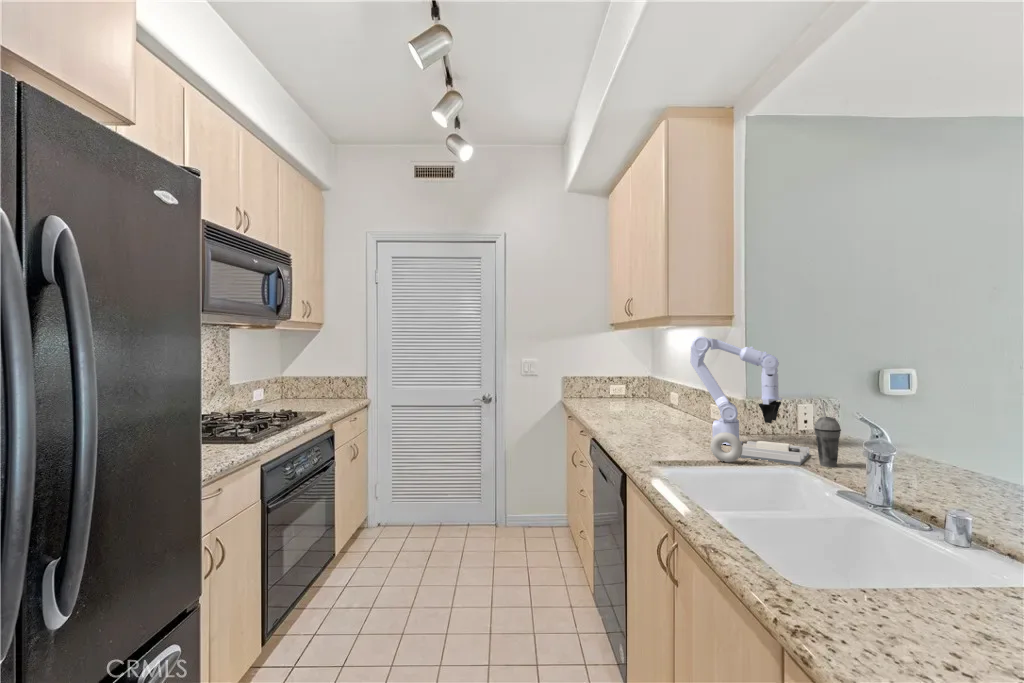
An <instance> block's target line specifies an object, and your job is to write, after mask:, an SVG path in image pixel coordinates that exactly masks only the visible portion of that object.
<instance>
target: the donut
mask: <svg viewBox="0 0 1024 683" xmlns="http://www.w3.org/2000/svg"><path fill="white" fill-rule="evenodd" d="M740 441H741V440H740V438H739V439H738V438H737V437H736V436H735V435H733V434H731V433H727V432H723V433H719V434H717V435H715V436H714V437H713V436H712V438H711V441H710V445H709V446H710V451H711V453H712V455H713V457H715V458H716V459H717V460H719V461H720V460H721V462H723V461H725V462H724V463H733V462H736V461H738V460H739V459H741V458H740V456H741V454H742V450H743V448H742V446H743V443H741V442H742V441H741V442H740ZM724 442H727V443H729V444H730V445H729V446H731V449H730V451H727V452H726V451H724V450H723V449H722V445H723V444H722V443H724Z"/></svg>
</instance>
